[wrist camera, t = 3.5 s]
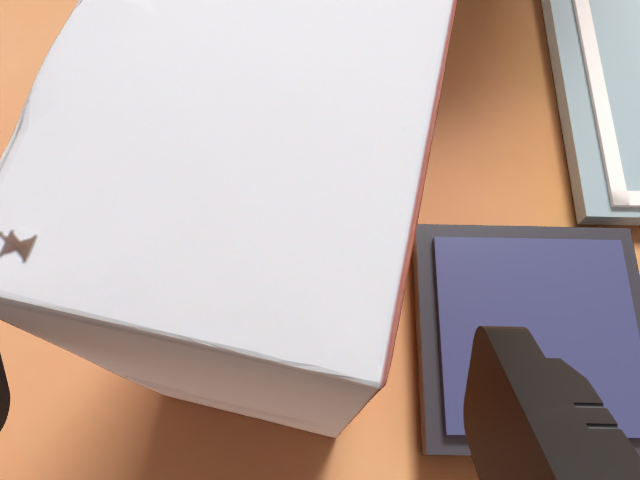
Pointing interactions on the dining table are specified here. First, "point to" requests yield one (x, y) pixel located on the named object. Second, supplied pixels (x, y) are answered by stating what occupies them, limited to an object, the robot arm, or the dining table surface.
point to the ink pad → (525, 313)
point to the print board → (598, 104)
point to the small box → (226, 196)
